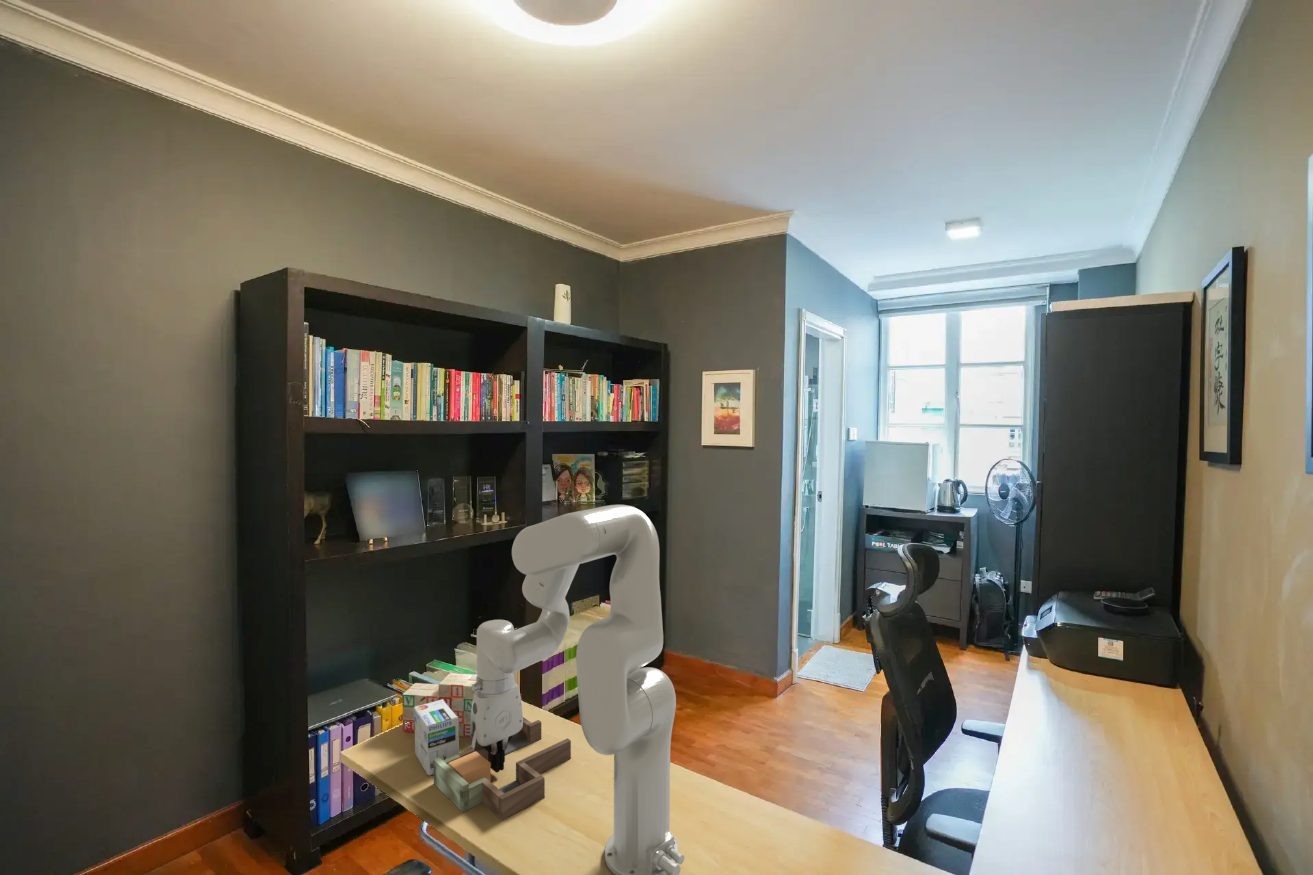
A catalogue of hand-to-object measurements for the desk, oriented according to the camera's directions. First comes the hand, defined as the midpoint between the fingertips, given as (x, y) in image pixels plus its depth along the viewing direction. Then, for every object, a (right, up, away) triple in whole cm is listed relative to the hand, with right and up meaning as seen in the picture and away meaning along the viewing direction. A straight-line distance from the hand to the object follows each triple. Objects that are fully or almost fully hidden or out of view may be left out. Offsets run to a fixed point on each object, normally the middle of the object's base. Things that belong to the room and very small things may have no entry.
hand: (496, 768), depth 125 cm
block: (-4, -2, -4) cm, 6 cm away
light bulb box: (-14, -1, +5) cm, 15 cm away
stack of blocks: (-16, -1, +18) cm, 24 cm away
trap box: (+2, -1, +2) cm, 3 cm away
